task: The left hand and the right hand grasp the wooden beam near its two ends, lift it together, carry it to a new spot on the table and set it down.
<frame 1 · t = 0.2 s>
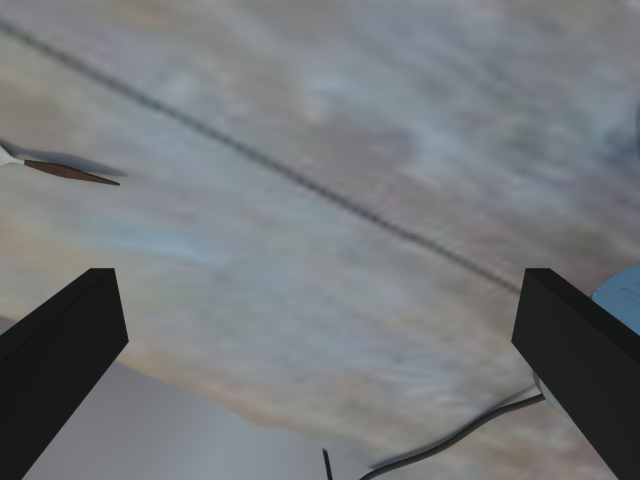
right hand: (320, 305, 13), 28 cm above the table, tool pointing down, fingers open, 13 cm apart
fork: (41, 164, 39), on the table
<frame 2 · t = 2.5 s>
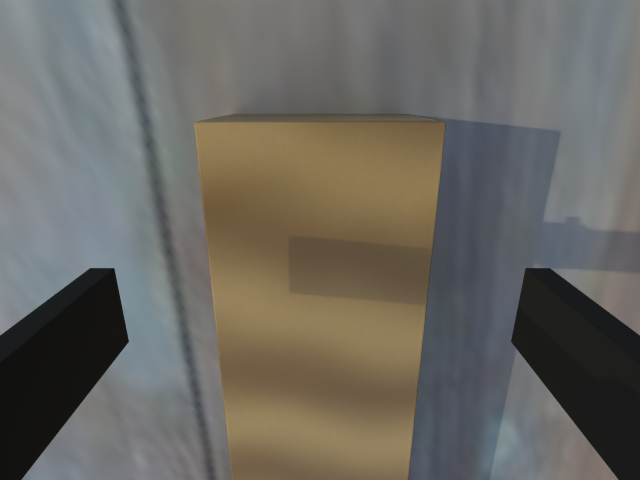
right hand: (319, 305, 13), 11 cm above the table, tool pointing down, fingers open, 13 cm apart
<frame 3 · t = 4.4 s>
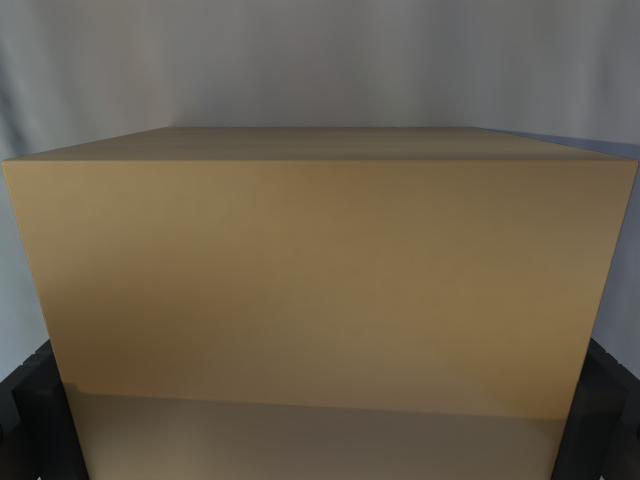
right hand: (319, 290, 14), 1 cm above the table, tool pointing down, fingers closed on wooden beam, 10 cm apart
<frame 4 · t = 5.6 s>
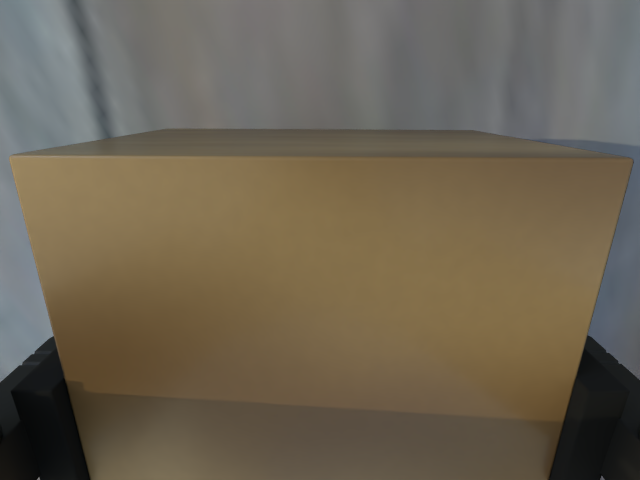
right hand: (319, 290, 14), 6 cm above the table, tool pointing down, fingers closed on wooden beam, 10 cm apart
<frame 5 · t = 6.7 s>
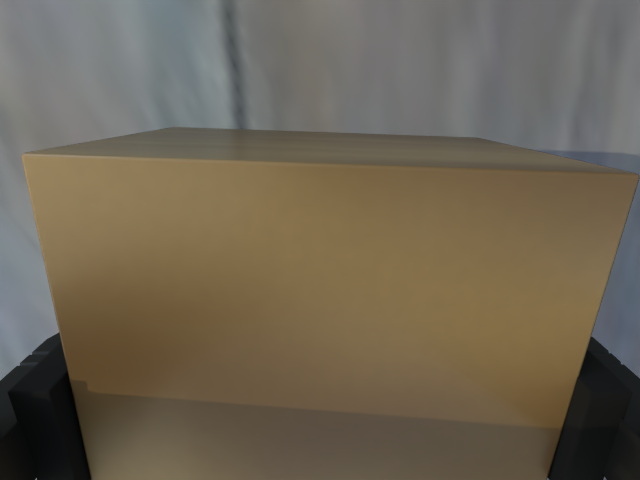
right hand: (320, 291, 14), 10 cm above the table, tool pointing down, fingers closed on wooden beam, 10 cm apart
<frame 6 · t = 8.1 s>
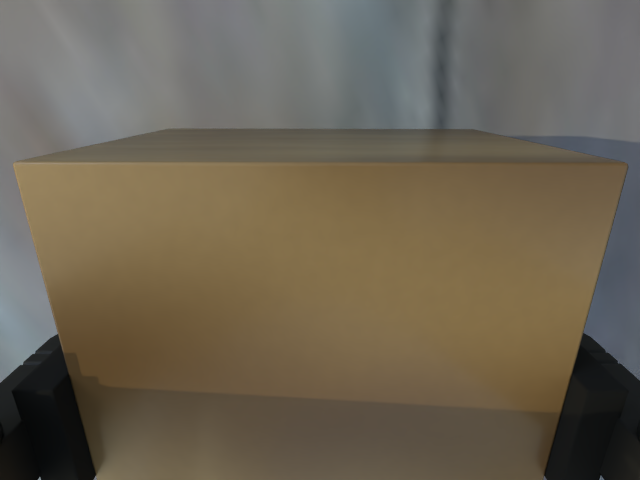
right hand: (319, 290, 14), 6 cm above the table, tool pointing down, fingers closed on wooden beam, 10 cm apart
when the left hand's fingers open (2 cm above the table, at t = 9.1 s): wooden beam stays where it is, on the table.
when the right hand's fingers open (2 cm above the table, at t = 9.1 s): wooden beam stays where it is, on the table.
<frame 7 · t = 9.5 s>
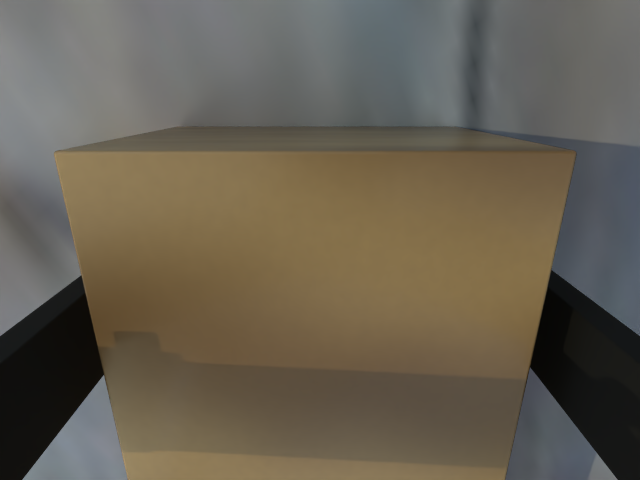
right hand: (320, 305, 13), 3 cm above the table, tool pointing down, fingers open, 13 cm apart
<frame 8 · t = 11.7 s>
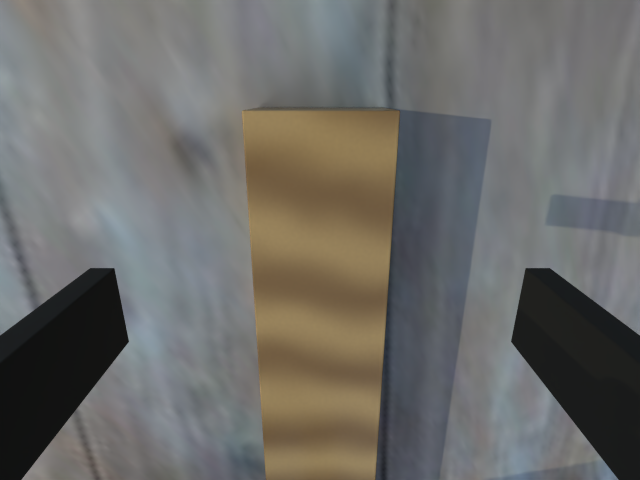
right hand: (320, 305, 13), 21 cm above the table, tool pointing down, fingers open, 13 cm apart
wooden beam: (320, 478, 44), on the table
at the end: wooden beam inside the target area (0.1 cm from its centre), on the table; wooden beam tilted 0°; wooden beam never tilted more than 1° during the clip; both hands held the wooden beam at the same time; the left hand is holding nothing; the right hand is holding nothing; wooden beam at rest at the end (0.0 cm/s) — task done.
